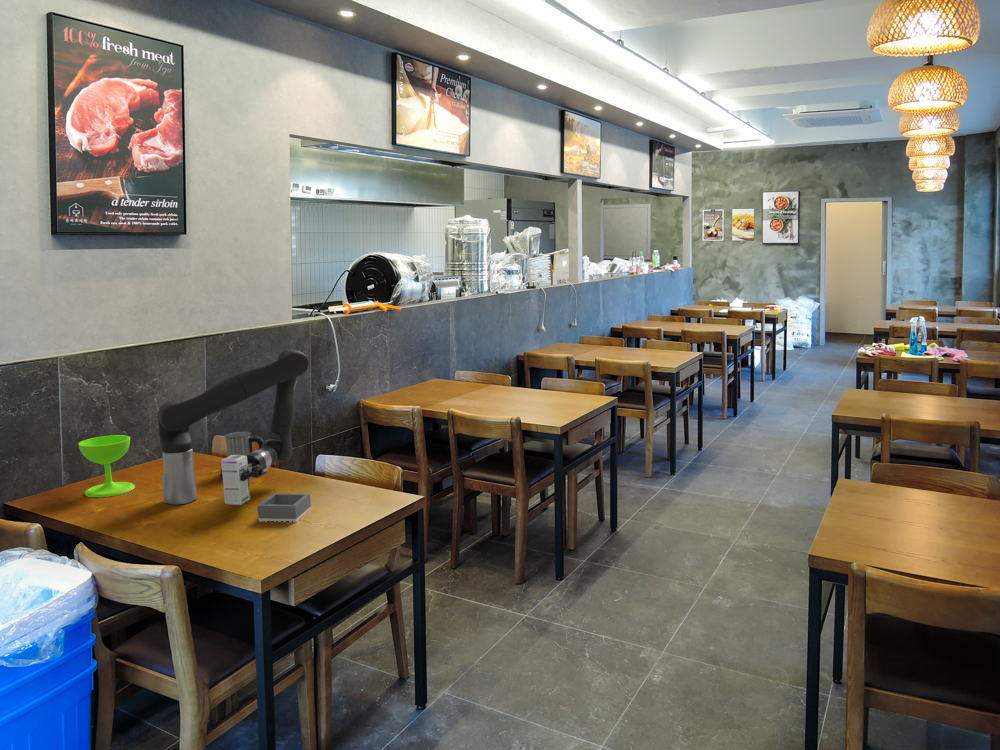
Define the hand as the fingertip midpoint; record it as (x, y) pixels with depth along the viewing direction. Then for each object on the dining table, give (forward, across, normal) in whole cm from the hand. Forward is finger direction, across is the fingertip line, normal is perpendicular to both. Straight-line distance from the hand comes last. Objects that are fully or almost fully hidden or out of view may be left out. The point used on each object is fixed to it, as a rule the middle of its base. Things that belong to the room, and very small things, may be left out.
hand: (232, 477), depth 235 cm
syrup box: (-2, 0, +9) cm, 9 cm away
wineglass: (-22, -57, +13) cm, 62 cm away
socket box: (-1, +16, +12) cm, 20 cm away
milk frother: (-50, -20, +12) cm, 55 cm away
